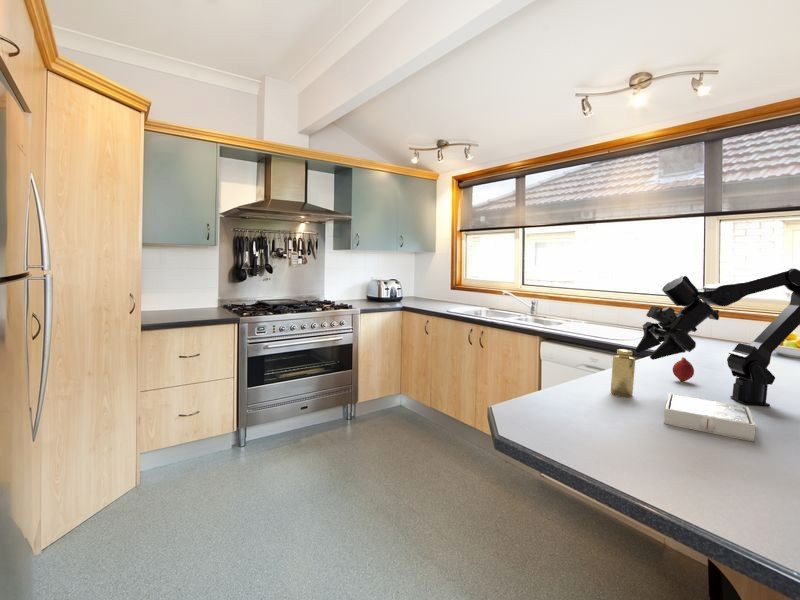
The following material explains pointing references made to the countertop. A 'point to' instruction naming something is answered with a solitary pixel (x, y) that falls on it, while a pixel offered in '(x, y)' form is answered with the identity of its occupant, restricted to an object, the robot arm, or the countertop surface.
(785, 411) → the countertop surface
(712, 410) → the silver square plate
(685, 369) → the onion
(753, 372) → the robot arm
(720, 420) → the scale
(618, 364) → the weight
